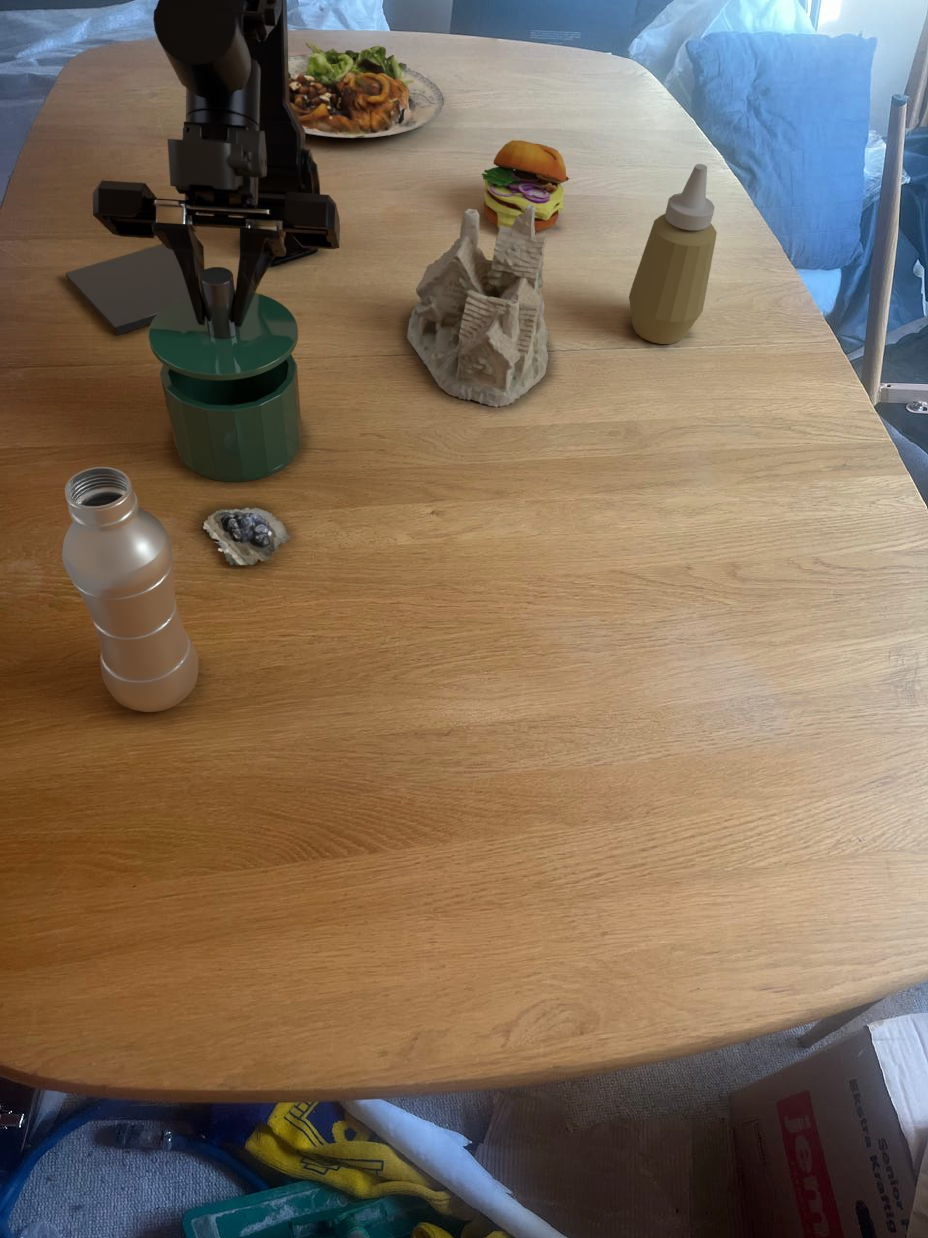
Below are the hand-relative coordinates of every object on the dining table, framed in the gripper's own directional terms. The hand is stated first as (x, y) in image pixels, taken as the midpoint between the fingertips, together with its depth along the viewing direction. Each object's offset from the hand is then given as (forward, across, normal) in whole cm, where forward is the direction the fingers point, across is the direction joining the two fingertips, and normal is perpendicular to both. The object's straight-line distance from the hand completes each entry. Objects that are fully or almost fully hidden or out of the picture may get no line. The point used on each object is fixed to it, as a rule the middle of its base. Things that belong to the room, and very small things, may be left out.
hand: (219, 325), depth 78 cm
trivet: (-8, -14, +27) cm, 31 cm away
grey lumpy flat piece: (+17, +2, +2) cm, 17 cm away
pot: (+8, 0, +10) cm, 13 cm away
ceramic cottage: (-3, +22, +22) cm, 31 cm away
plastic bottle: (+28, -2, -10) cm, 30 cm away
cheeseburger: (-23, +28, +42) cm, 56 cm away
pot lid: (0, 0, +2) cm, 2 cm away
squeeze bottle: (-7, +43, +26) cm, 50 cm away
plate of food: (-42, +5, +62) cm, 75 cm away
